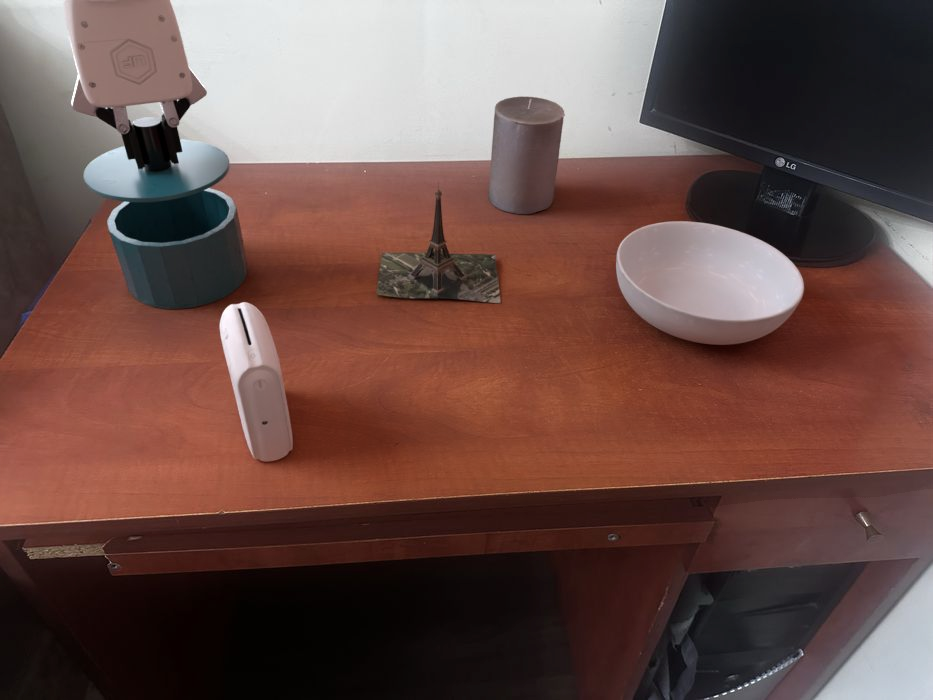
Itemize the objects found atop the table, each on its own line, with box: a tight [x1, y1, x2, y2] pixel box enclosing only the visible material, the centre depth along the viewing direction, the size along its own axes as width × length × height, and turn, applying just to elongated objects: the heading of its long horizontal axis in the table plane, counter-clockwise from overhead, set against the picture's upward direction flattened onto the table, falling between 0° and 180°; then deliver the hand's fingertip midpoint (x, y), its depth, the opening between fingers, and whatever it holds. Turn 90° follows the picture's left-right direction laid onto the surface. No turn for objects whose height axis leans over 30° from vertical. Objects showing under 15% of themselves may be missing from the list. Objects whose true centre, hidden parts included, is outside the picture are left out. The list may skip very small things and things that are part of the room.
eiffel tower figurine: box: [375, 182, 502, 304], centre depth 84 cm, size 15×10×13 cm
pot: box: [106, 187, 248, 310], centre depth 85 cm, size 14×14×8 cm
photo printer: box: [219, 301, 294, 463], centre depth 65 cm, size 10×4×12 cm, turn 23°
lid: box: [83, 116, 231, 202], centre depth 76 cm, size 15×15×6 cm
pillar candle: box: [488, 96, 566, 215], centre depth 101 cm, size 10×10×15 cm
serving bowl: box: [615, 220, 805, 346], centre depth 83 cm, size 21×21×7 cm
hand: (156, 160), depth 77 cm, fingers closed on lid, 2 cm apart
